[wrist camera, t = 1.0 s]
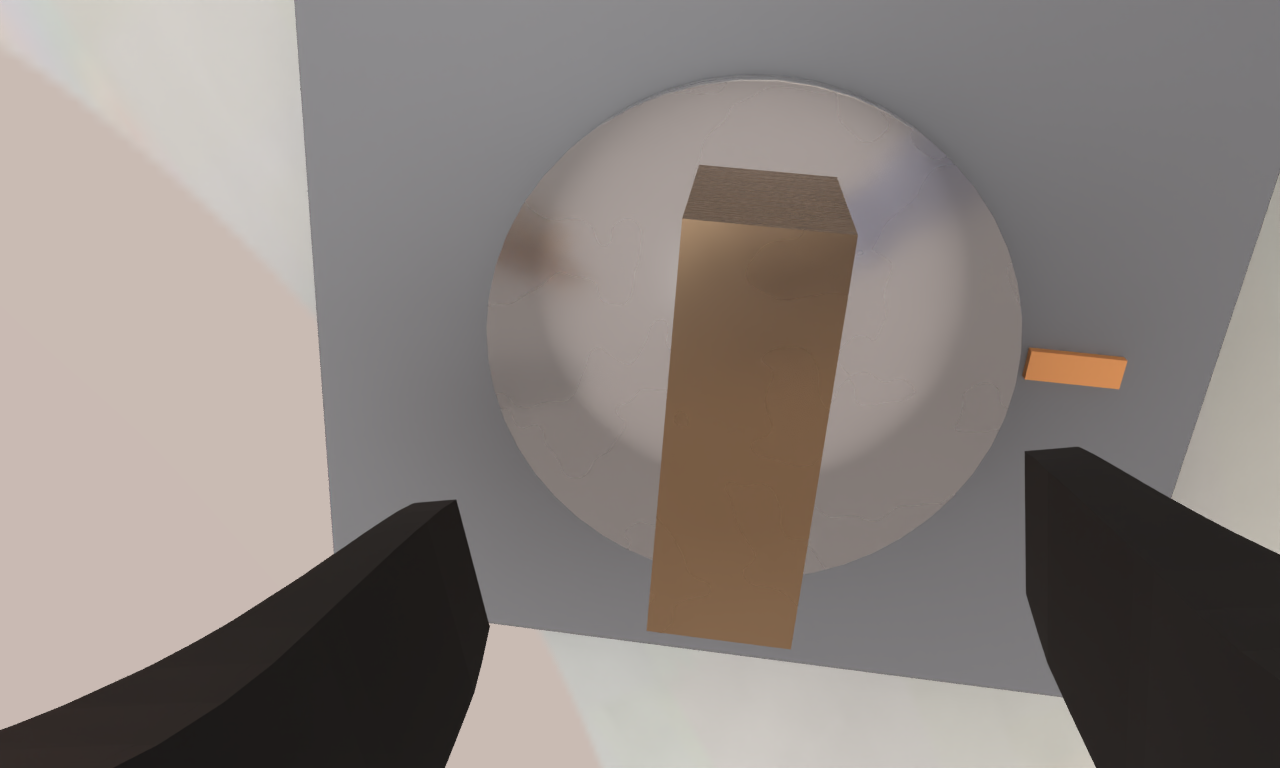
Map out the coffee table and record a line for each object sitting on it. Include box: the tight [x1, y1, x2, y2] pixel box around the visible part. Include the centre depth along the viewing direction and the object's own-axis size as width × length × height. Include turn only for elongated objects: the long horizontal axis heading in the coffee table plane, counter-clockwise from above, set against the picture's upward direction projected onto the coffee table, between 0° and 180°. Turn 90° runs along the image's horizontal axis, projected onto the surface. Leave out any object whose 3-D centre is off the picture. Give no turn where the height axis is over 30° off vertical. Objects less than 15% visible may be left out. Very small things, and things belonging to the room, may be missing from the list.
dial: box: [486, 75, 1022, 649], centre depth 17 cm, size 10×10×5 cm
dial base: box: [294, 0, 1280, 697], centre depth 20 cm, size 18×16×2 cm
